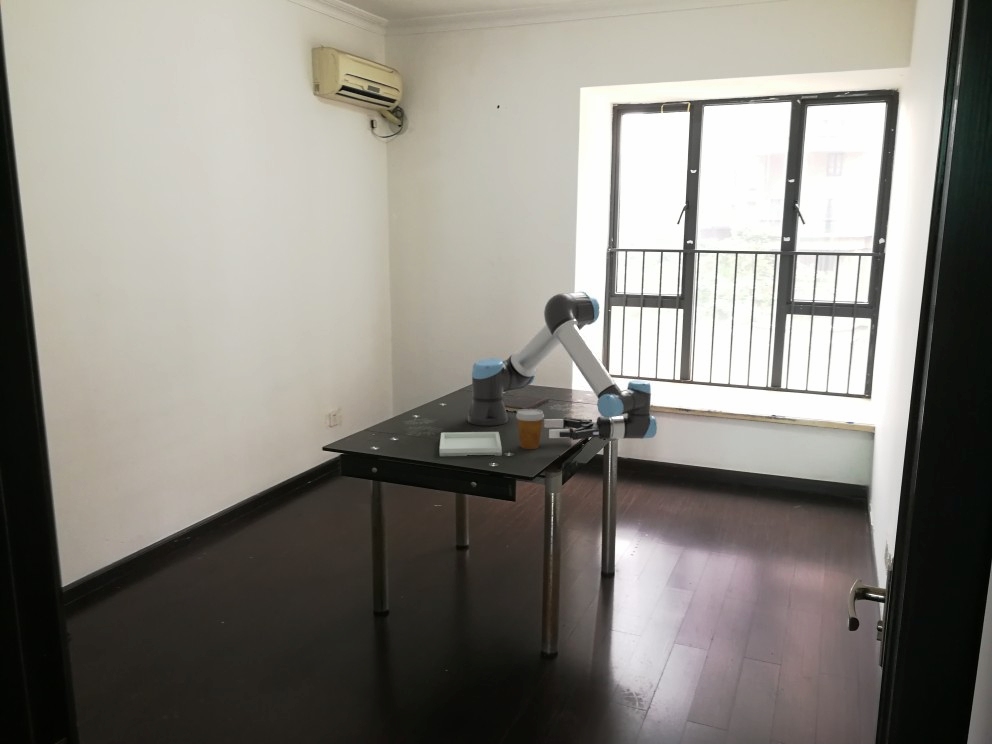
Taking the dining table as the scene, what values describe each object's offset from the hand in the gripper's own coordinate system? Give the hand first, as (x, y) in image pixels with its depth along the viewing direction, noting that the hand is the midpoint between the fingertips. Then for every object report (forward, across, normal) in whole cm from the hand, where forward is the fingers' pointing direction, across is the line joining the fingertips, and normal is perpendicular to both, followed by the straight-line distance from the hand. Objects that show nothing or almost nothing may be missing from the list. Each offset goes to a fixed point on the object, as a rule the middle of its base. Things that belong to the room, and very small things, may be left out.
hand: (546, 428), depth 251 cm
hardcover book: (+4, +63, -7) cm, 63 cm away
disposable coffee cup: (+6, +1, -6) cm, 9 cm away
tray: (+26, +1, -6) cm, 26 cm away
